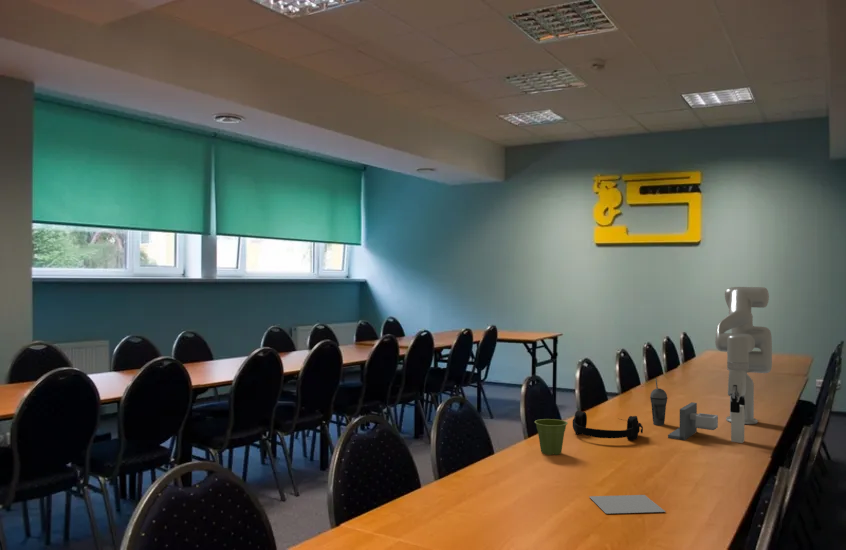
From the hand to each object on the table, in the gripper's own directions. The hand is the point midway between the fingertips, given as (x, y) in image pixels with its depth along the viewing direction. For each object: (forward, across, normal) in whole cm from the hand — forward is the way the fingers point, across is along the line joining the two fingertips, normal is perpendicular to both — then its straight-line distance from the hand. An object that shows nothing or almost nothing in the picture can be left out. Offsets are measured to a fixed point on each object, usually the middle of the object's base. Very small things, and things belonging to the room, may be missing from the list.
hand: (737, 410), depth 258 cm
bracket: (+12, +1, -16) cm, 20 cm away
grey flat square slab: (+15, +91, -10) cm, 93 cm away
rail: (+12, -1, 0) cm, 12 cm away
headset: (+13, +21, -44) cm, 50 cm away
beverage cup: (+12, -13, -34) cm, 38 cm away
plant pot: (+14, +59, -51) cm, 79 cm away
